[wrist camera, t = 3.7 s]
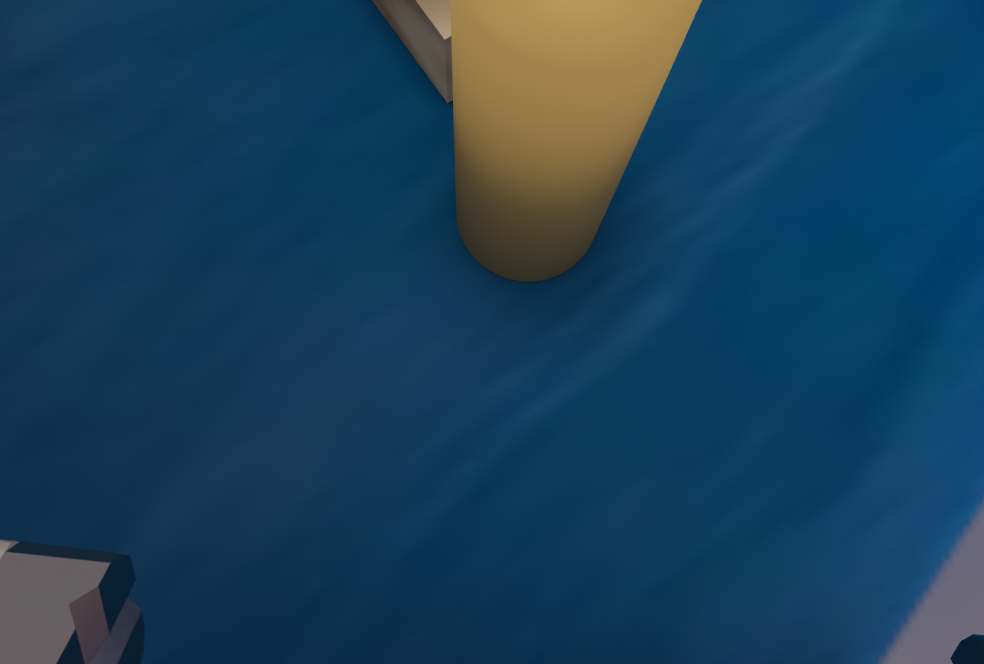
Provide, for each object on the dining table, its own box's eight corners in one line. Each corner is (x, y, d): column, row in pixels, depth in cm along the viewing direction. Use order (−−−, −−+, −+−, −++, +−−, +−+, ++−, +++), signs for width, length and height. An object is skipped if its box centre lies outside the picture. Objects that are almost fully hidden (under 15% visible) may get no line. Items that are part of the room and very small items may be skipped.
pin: (428, 194, 25) (396, -89, 14) (543, 121, 26) (609, -212, 14) (509, 309, 25) (550, 115, 13) (626, 230, 25) (765, -23, 14)
